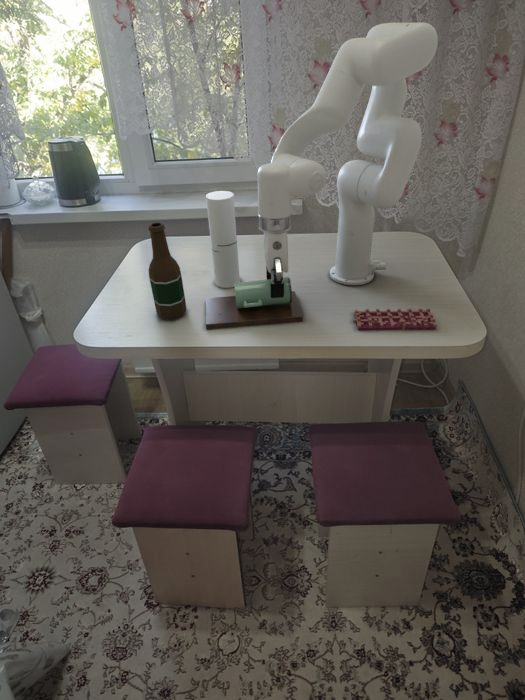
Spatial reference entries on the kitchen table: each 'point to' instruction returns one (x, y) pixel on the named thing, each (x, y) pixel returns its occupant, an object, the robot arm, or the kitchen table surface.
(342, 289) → the kitchen table surface
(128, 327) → the kitchen table surface
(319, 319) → the kitchen table surface
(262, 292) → the jug
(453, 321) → the kitchen table surface
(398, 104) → the robot arm
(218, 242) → the cylindrical container
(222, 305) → the serving board
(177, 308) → the beer bottle
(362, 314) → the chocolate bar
